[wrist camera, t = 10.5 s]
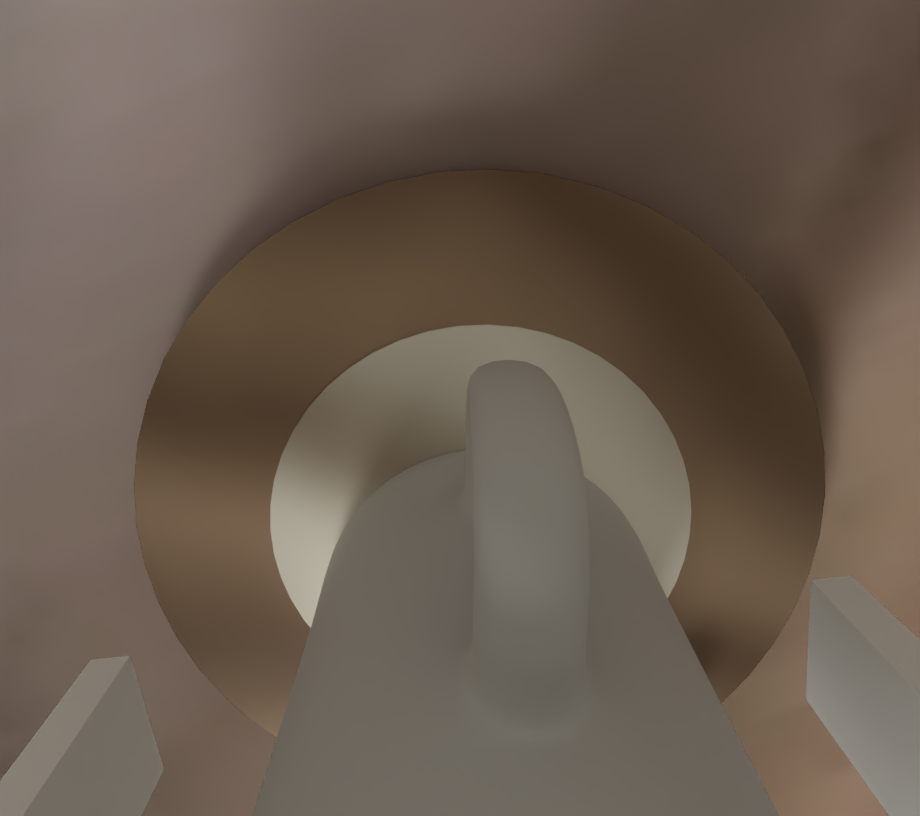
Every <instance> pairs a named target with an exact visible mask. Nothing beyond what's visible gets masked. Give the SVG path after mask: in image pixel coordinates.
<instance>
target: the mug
mask: <svg viewBox="0 0 920 816" xmlns="http://www.w3.org/2000/svg"><path fill="white" fill-rule="evenodd" d="M253 816H778V814H777V812H776V810H775V808H774V806H773V804H772V802H771V800H770V798H769V796H768V794H767V792H766V790H765V788H764V786H763V784H762V783H761V781H760V779H759V777H758V775H757V773H756V771H755V769H754V767H753V765H752V763H751V761H750V759H749V757H748V755H747V753H746V751H745V749H744V747H743V745H742V743H741V742H740V740H739V738H738V736H737V734H736V732H735V730H734V728H733V726H732V724H731V722H730V720H729V718H728V716H727V714H726V712H725V710H724V708H723V706H722V704H721V702H720V701H719V699H718V697H717V695H716V693H715V691H714V689H713V687H712V685H711V683H710V681H709V679H708V677H707V675H706V673H705V671H704V669H703V667H702V665H701V663H700V661H699V660H698V658H697V656H696V654H695V652H694V650H693V648H692V646H691V644H690V642H689V640H688V638H687V636H686V634H685V632H684V630H683V628H682V626H681V624H680V622H679V620H678V619H677V617H676V615H675V613H674V611H673V609H672V607H671V605H670V603H669V601H668V599H667V597H666V595H665V593H664V591H663V589H662V586H661V584H660V582H659V580H658V578H657V576H656V574H655V572H654V570H653V567H652V565H651V563H650V561H649V558H648V556H647V554H646V552H645V550H644V548H643V545H642V543H641V541H640V539H639V537H638V535H637V534H636V532H635V531H634V529H633V528H632V526H631V524H630V523H629V521H628V520H627V518H626V517H625V515H624V513H623V512H622V511H621V510H620V508H619V507H618V506H617V505H616V504H615V503H614V501H613V500H612V499H611V498H610V497H609V496H608V495H607V494H606V493H605V492H603V491H602V490H601V489H600V488H599V487H598V486H596V485H595V484H594V483H593V482H591V481H590V480H588V479H587V478H585V477H584V474H583V468H582V462H581V456H580V451H579V447H578V443H577V439H576V435H575V431H574V427H573V424H572V421H571V418H570V415H569V412H568V409H567V406H566V404H565V401H564V399H563V397H562V394H561V392H560V390H559V389H558V387H557V386H556V384H555V382H554V381H553V380H552V379H551V378H550V377H549V376H548V374H547V373H546V372H545V371H544V370H542V369H541V368H540V367H538V366H535V365H533V364H530V363H528V362H524V361H516V360H502V361H493V362H490V363H487V364H485V365H483V366H480V367H478V368H477V369H476V370H475V371H474V373H473V374H472V375H471V376H470V379H469V383H468V388H467V398H466V450H464V451H458V452H452V453H447V454H444V455H441V456H437V457H434V458H431V459H428V460H425V461H423V462H421V463H419V464H416V465H414V466H412V467H410V468H407V469H406V470H404V471H403V472H401V473H399V474H398V475H396V476H394V477H393V478H391V479H389V480H388V481H387V482H386V483H384V484H383V485H382V486H381V487H379V488H378V489H377V490H376V491H374V492H373V493H372V494H371V495H370V496H369V498H368V499H367V500H366V501H365V502H364V503H363V504H362V505H361V506H360V507H359V508H358V509H357V510H356V512H355V513H354V515H353V516H352V517H351V519H350V520H349V522H348V523H347V525H346V526H345V528H344V530H343V532H342V534H341V536H340V538H339V540H338V541H337V543H336V546H335V548H334V550H333V553H332V556H331V559H330V562H329V565H328V568H327V571H326V574H325V578H324V581H323V585H322V589H321V592H320V596H319V600H318V604H317V608H316V611H315V615H314V618H313V622H312V626H311V629H310V632H309V636H308V639H307V642H306V646H305V649H304V652H303V655H302V659H301V662H300V665H299V668H298V671H297V675H296V678H295V681H294V684H293V687H292V691H291V694H290V697H289V700H288V704H287V707H286V710H285V713H284V716H283V720H282V723H281V726H280V729H279V732H278V736H277V739H276V742H275V745H274V748H273V752H272V755H271V758H270V761H269V764H268V768H267V771H266V774H265V777H264V780H263V784H262V787H261V790H260V793H259V796H258V800H257V803H256V806H255V809H254V812H253Z"/></svg>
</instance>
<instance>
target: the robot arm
mask: <svg viewBox="0 0 920 816" xmlns="http://www.w3.org/2000/svg"><path fill="white" fill-rule="evenodd" d="M806 700H807V702H808V703H809V704H810V706H811V707H812V709H813V710H814V711H815V713H816V714H817V716H818V717H819V718H820V720H821V721H822V723H823V724H824V725H825V727H826V728H827V730H828V731H829V732H830V734H831V735H832V737H833V738H834V739H835V741H836V742H837V744H838V745H839V746H840V748H841V749H842V751H843V752H844V753H845V755H846V756H847V758H848V759H849V760H850V762H851V763H852V765H853V766H854V767H855V769H856V770H857V771H858V773H859V774H860V776H861V777H862V778H863V780H864V781H865V783H866V784H867V785H868V787H869V788H870V790H871V791H872V792H873V794H874V795H875V797H876V798H877V799H878V801H879V802H880V804H881V805H882V806H883V808H884V809H885V811H886V812H887V813H888V815H889V816H920V640H919V639H918V638H917V637H916V636H915V635H914V634H913V633H912V632H911V631H910V630H909V629H908V628H906V627H905V626H904V625H903V624H902V623H901V622H900V621H899V620H898V619H897V618H896V617H895V616H894V615H893V614H892V613H891V612H889V611H888V610H887V609H886V608H885V607H884V606H883V605H882V604H881V603H880V602H879V601H878V600H877V599H876V598H875V597H874V596H873V595H871V594H870V593H869V592H868V591H867V590H866V589H865V588H864V587H863V586H862V585H861V584H860V583H859V582H858V581H857V580H856V579H854V578H853V577H852V576H851V575H850V576H841V577H832V578H823V579H814V580H811V592H810V614H809V637H808V659H807V681H806ZM163 770H164V767H163V764H162V760H161V757H160V754H159V750H158V747H157V744H156V740H155V737H154V734H153V730H152V727H151V724H150V720H149V717H148V714H147V710H146V707H145V704H144V700H143V697H142V694H141V690H140V687H139V684H138V680H137V677H136V674H135V670H134V667H133V663H132V660H131V657H130V655H129V656H120V657H111V658H102V659H93V660H90V661H89V663H88V664H87V665H86V667H85V668H84V669H83V671H82V672H81V673H80V675H79V676H78V677H77V679H76V680H75V682H74V683H73V684H72V686H71V687H70V688H69V690H68V691H67V692H66V694H65V695H64V696H63V698H62V699H61V700H60V702H59V703H58V704H57V706H56V707H55V708H54V710H53V711H52V712H51V714H50V715H49V716H48V718H47V719H46V720H45V722H44V723H43V724H42V726H41V727H40V728H39V730H38V731H37V732H36V734H35V735H34V736H33V738H32V739H31V740H30V742H29V743H28V744H27V746H26V747H25V748H24V750H23V751H22V752H21V754H20V755H19V756H18V758H17V759H16V760H15V762H14V763H13V764H12V766H11V767H10V768H9V770H8V771H7V772H6V774H5V775H4V776H3V778H2V779H1V780H0V816H142V814H143V812H144V810H145V808H146V806H147V804H148V802H149V800H150V797H151V795H152V793H153V791H154V789H155V787H156V785H157V783H158V781H159V779H160V777H161V775H162V772H163Z"/></svg>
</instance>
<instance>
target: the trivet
mask: <svg viewBox="0 0 920 816" xmlns="http://www.w3.org/2000/svg"><path fill="white" fill-rule="evenodd" d="M502 360H516V361H524V362H528V363H530V364H533V365H535V366H538V367H540V368H541V369H542V370H544V371H545V372H546V373H547V374H548V376H549V377H550V378H551V379H552V380H553V381H554V382H555V384H556V386H557V387H558V389H559V390H560V392H561V394H562V397H563V399H564V401H565V404H566V406H567V409H568V412H569V415H570V418H571V421H572V424H573V427H574V431H575V435H576V439H577V443H578V447H579V451H580V456H581V462H582V468H583V474H584V477H585V478H587V479H588V480H590V481H591V482H593V483H594V484H595V485H596V486H598V487H599V488H600V489H601V490H602V491H603V492H605V493H606V494H607V495H608V496H609V497H610V498H611V499H612V500H613V501H614V503H615V504H616V505H617V506H618V507H619V508H620V510H621V511H622V512H623V513H624V515H625V517H626V518H627V520H628V521H629V523H630V524H631V526H632V528H633V529H634V531H635V532H636V534H637V535H638V537H639V539H640V541H641V543H642V545H643V548H644V550H645V552H646V554H647V556H648V558H649V561H650V563H651V565H652V567H653V570H654V572H655V574H656V576H657V578H658V580H659V582H660V584H661V586H662V589H663V591H664V593H665V595H666V597H667V599H668V601H669V603H670V605H671V607H672V609H673V611H674V613H675V615H676V617H677V619H678V620H679V622H680V624H681V626H682V628H683V630H684V632H685V634H686V636H687V638H688V640H689V642H690V644H691V646H692V648H693V650H694V652H695V654H696V656H697V658H698V660H699V661H700V663H701V665H702V667H703V669H704V671H705V673H706V675H707V677H708V679H709V681H710V683H711V685H712V687H713V689H714V691H715V693H716V695H717V697H718V699H719V701H720V702H721V703H722V702H723V701H724V700H725V699H726V698H727V697H728V696H729V695H730V694H731V693H732V692H733V691H734V690H735V689H736V688H737V687H738V686H739V685H740V684H741V683H742V682H743V681H744V680H745V679H746V678H747V677H748V676H749V675H750V673H751V672H752V671H753V669H754V668H755V667H756V666H757V664H758V663H759V662H760V660H761V659H762V658H763V656H764V655H765V654H766V653H767V651H768V650H769V649H770V647H771V646H772V645H773V643H774V642H775V640H776V638H777V637H778V635H779V633H780V632H781V630H782V628H783V627H784V625H785V623H786V621H787V620H788V618H789V616H790V615H791V613H792V611H793V610H794V607H795V605H796V603H797V600H798V598H799V595H800V593H801V591H802V588H803V586H804V584H805V581H806V579H807V577H808V574H809V571H810V568H811V564H812V561H813V557H814V553H815V550H816V546H817V542H818V539H819V535H820V528H821V520H822V513H823V505H824V497H825V470H824V448H823V442H822V436H821V430H820V424H819V418H818V412H817V408H816V405H815V402H814V399H813V396H812V393H811V390H810V387H809V384H808V381H807V378H806V374H805V371H804V369H803V367H802V365H801V363H800V361H799V359H798V357H797V355H796V353H795V351H794V349H793V347H792V345H791V343H790V341H789V339H788V337H787V335H786V333H785V331H784V329H783V328H782V326H781V325H780V324H779V322H778V321H777V319H776V318H775V317H774V315H773V314H772V312H771V311H770V309H769V308H768V307H767V305H766V304H765V302H764V301H763V300H762V298H761V297H760V295H759V294H758V293H757V292H756V290H755V289H754V288H753V287H752V286H751V285H750V284H749V283H748V282H747V281H746V280H745V279H744V278H743V277H742V276H741V275H740V274H739V273H738V272H737V271H736V270H735V269H734V267H733V266H732V265H731V264H730V263H729V262H728V261H727V260H726V259H725V258H723V257H722V256H721V255H720V254H718V253H717V252H716V251H714V250H713V249H712V248H711V247H709V246H708V245H707V244H705V243H704V242H703V241H702V240H700V239H699V238H698V237H696V236H695V235H694V234H693V233H691V232H690V231H689V230H687V229H686V228H684V227H682V226H680V225H679V224H677V223H675V222H673V221H672V220H670V219H668V218H666V217H665V216H663V215H661V214H659V213H657V212H656V211H654V210H652V209H650V208H649V207H647V206H645V205H643V204H641V203H638V202H636V201H633V200H630V199H628V198H625V197H623V196H620V195H618V194H615V193H612V192H610V191H607V190H605V189H602V188H600V187H597V186H594V185H589V184H585V183H581V182H576V181H572V180H568V179H564V178H559V177H555V176H551V175H547V174H538V173H527V172H516V171H505V170H494V169H491V170H470V171H450V172H437V173H432V174H427V175H421V176H416V177H411V178H405V179H400V180H395V181H389V182H386V183H383V184H380V185H377V186H374V187H371V188H368V189H365V190H362V191H359V192H356V193H353V194H350V195H347V196H344V197H341V198H339V199H337V200H335V201H333V202H331V203H329V204H327V205H325V206H323V207H321V208H319V209H317V210H315V211H313V212H311V213H309V214H307V215H305V216H303V217H301V218H299V219H297V220H295V221H293V222H292V223H290V224H289V225H287V226H286V227H284V228H283V229H281V230H280V231H279V232H277V233H276V234H274V235H273V236H271V237H270V238H268V239H267V240H266V241H264V242H263V243H261V244H260V245H258V246H257V247H255V248H254V249H253V250H251V251H250V252H249V253H248V254H247V255H246V256H245V257H244V258H243V259H242V260H241V261H240V262H239V263H237V264H236V265H235V266H234V267H233V268H232V269H231V270H230V271H229V272H228V273H227V274H226V275H225V276H223V277H222V278H221V279H220V280H219V281H218V282H217V283H216V284H215V285H214V287H213V288H212V289H211V290H210V292H209V293H208V294H207V295H206V297H205V298H204V299H203V300H202V302H201V303H200V304H199V305H198V307H197V308H196V309H195V310H194V312H193V313H192V314H191V315H190V317H189V318H188V319H187V321H186V322H185V324H184V326H183V327H182V329H181V331H180V333H179V334H178V336H177V338H176V339H175V341H174V343H173V345H172V346H171V348H170V350H169V351H168V353H167V355H166V357H165V358H164V360H163V363H162V365H161V368H160V370H159V373H158V375H157V378H156V380H155V383H154V385H153V388H152V390H151V393H150V395H149V398H148V400H147V404H146V409H145V413H144V417H143V421H142V426H141V430H140V434H139V439H138V443H137V455H136V467H135V479H134V492H135V507H136V522H137V530H138V534H139V539H140V544H141V548H142V553H143V558H144V563H145V567H146V569H147V572H148V575H149V578H150V580H151V583H152V586H153V589H154V591H155V594H156V597H157V599H158V602H159V604H160V606H161V608H162V610H163V612H164V614H165V616H166V618H167V620H168V621H169V623H170V625H171V627H172V629H173V631H174V633H175V635H176V637H177V638H178V640H179V641H180V643H181V644H182V645H183V647H184V648H185V650H186V651H187V653H188V654H189V655H190V657H191V658H192V660H193V661H194V662H195V664H196V665H197V667H198V668H199V669H200V671H201V672H202V673H203V674H204V675H205V676H206V677H207V678H208V679H209V680H210V682H211V683H212V684H213V685H214V686H215V687H216V688H217V689H218V690H219V691H220V692H221V694H222V695H223V696H224V697H225V698H226V699H227V700H228V701H230V702H231V703H232V704H233V705H234V706H235V707H237V708H238V709H239V710H240V711H241V712H242V713H244V714H245V715H246V716H247V717H248V718H249V719H251V720H252V721H253V722H254V723H255V724H257V725H258V726H260V727H261V728H263V729H264V730H266V731H267V732H269V733H270V734H272V735H273V736H275V737H276V738H277V736H278V732H279V729H280V726H281V723H282V720H283V716H284V713H285V710H286V707H287V704H288V700H289V697H290V694H291V691H292V687H293V684H294V681H295V678H296V675H297V671H298V668H299V665H300V662H301V659H302V655H303V652H304V649H305V646H306V642H307V639H308V636H309V632H310V629H311V626H312V622H313V618H314V615H315V611H316V608H317V604H318V600H319V596H320V592H321V589H322V585H323V581H324V578H325V574H326V571H327V568H328V565H329V562H330V559H331V556H332V553H333V550H334V548H335V546H336V543H337V541H338V540H339V538H340V536H341V534H342V532H343V530H344V528H345V526H346V525H347V523H348V522H349V520H350V519H351V517H352V516H353V515H354V513H355V512H356V510H357V509H358V508H359V507H360V506H361V505H362V504H363V503H364V502H365V501H366V500H367V499H368V498H369V496H370V495H371V494H372V493H373V492H374V491H376V490H377V489H378V488H379V487H381V486H382V485H383V484H384V483H386V482H387V481H388V480H389V479H391V478H393V477H394V476H396V475H398V474H399V473H401V472H403V471H404V470H406V469H407V468H410V467H412V466H414V465H416V464H419V463H421V462H423V461H425V460H428V459H431V458H434V457H437V456H441V455H444V454H447V453H452V452H458V451H464V450H466V398H467V388H468V383H469V379H470V376H471V375H472V374H473V373H474V371H475V370H476V369H477V368H478V367H480V366H483V365H485V364H487V363H490V362H493V361H502Z"/></svg>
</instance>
